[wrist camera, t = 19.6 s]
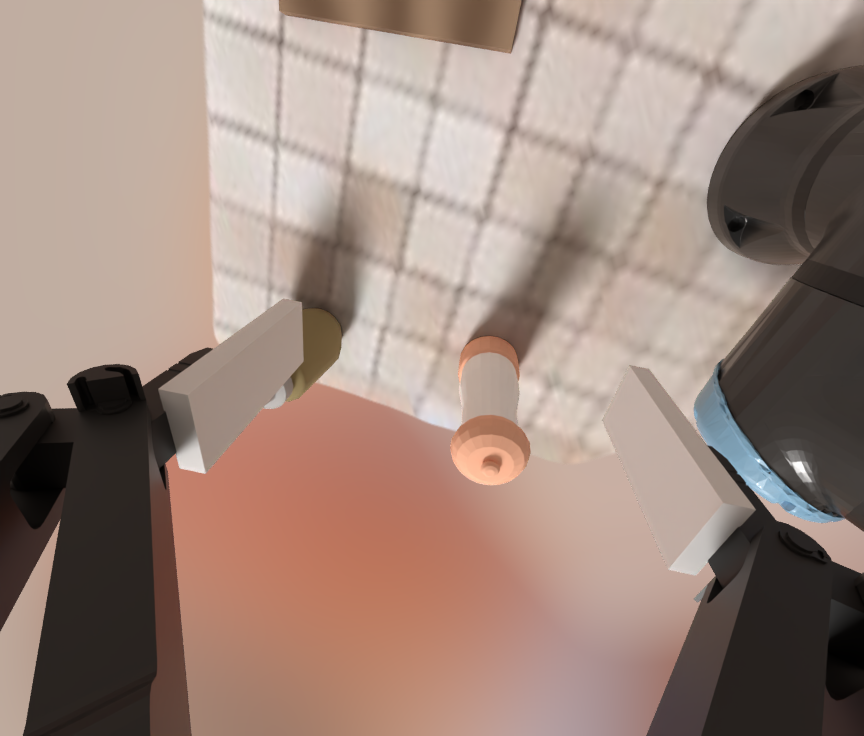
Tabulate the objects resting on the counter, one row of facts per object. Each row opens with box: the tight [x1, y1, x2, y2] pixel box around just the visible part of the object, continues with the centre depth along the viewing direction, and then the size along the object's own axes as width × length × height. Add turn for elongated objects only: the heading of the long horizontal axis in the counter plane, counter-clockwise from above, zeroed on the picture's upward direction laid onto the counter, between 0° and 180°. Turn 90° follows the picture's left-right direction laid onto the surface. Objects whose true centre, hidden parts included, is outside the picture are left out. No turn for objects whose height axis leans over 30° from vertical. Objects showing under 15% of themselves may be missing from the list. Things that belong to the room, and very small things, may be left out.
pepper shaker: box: [450, 336, 530, 485], centre depth 39 cm, size 7×7×19 cm
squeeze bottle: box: [263, 308, 342, 409], centre depth 40 cm, size 8×8×18 cm
